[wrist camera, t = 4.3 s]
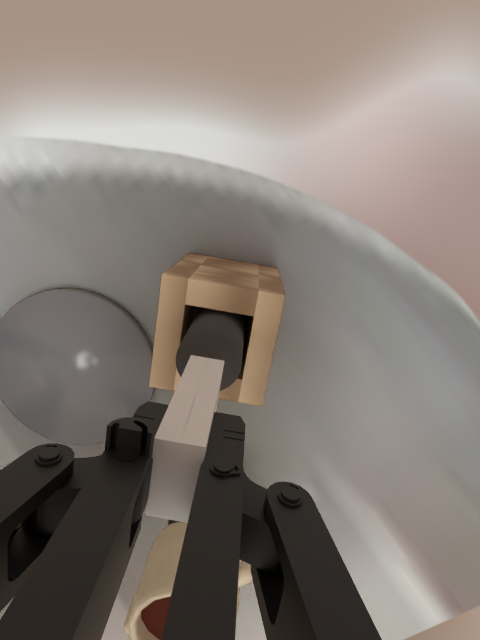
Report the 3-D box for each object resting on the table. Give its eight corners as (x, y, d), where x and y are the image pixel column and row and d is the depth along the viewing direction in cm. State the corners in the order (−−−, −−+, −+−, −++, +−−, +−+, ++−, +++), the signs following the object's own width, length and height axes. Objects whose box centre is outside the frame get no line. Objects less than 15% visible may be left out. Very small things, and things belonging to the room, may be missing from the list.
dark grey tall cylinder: (198, 329, 31) (171, 386, 21) (204, 286, 30) (180, 325, 20) (242, 336, 31) (235, 397, 21) (250, 293, 30) (246, 337, 20)
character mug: (179, 544, 41) (145, 697, 28) (138, 492, 39) (81, 629, 27) (274, 498, 39) (282, 640, 26) (234, 441, 37) (222, 563, 25)
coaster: (-3, 423, 37) (-11, 430, 36) (-3, 274, 34) (-12, 277, 32) (147, 448, 38) (144, 456, 36) (165, 303, 34) (161, 307, 32)
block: (179, 335, 34) (149, 386, 25) (190, 252, 32) (161, 274, 23) (261, 349, 34) (262, 406, 25) (276, 267, 32) (285, 295, 23)
